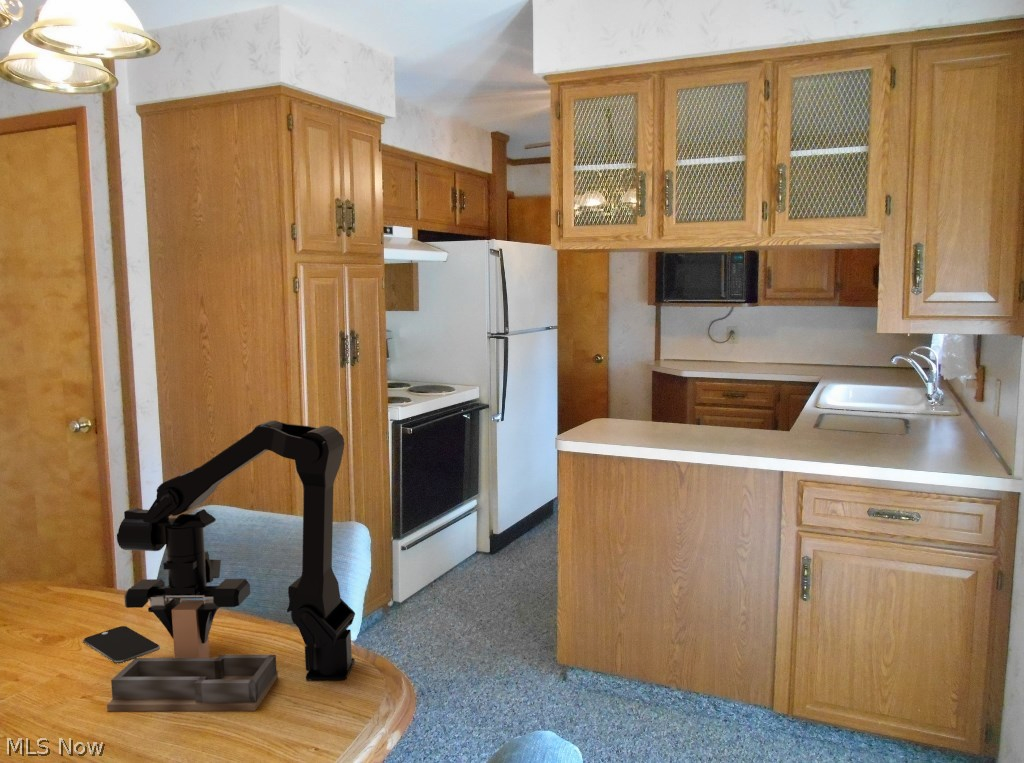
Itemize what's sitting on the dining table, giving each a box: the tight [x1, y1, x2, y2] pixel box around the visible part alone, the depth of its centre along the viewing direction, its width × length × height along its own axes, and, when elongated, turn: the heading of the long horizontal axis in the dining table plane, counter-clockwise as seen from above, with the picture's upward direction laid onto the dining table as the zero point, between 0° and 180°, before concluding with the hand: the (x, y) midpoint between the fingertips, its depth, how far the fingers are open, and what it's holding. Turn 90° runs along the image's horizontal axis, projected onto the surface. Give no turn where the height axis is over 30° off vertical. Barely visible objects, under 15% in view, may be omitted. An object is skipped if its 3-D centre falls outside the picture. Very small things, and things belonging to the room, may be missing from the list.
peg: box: [172, 599, 211, 658], centre depth 126 cm, size 4×4×10 cm
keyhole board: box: [106, 654, 279, 712], centre depth 116 cm, size 22×10×4 cm, turn 89°
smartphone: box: [82, 625, 161, 664], centre depth 134 cm, size 8×1×15 cm
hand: (191, 642), depth 126 cm, fingers closed on peg, 4 cm apart
